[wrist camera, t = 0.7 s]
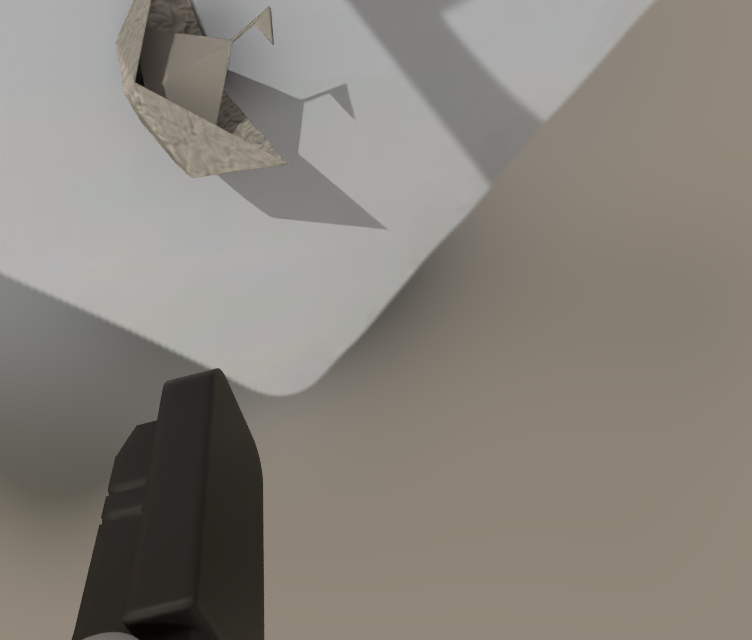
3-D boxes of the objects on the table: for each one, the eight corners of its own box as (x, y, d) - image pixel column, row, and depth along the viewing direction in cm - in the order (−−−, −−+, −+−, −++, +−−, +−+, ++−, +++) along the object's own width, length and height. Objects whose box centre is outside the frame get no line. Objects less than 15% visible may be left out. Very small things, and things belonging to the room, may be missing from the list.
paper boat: (26, 5, 30) (151, -143, 26) (128, 23, 36) (244, -96, 31) (157, 236, 31) (299, 130, 26) (236, 218, 36) (365, 128, 32)
